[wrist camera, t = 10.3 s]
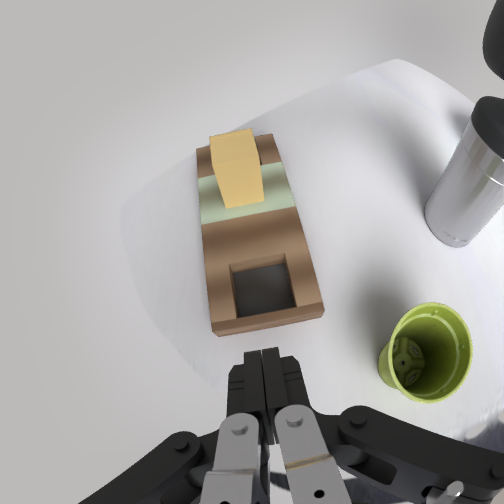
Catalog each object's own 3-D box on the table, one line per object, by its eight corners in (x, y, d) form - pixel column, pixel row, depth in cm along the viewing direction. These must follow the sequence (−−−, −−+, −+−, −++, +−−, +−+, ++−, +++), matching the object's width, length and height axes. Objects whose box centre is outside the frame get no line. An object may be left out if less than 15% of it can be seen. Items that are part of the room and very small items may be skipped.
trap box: (321, 317, 32) (324, 310, 29) (218, 336, 32) (212, 331, 30) (273, 147, 45) (272, 133, 42) (200, 161, 45) (196, 148, 43)
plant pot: (347, 361, 29) (367, 351, 22) (402, 308, 31) (432, 282, 23) (395, 418, 25) (428, 424, 18) (446, 361, 27) (486, 349, 19)
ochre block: (264, 200, 37) (258, 156, 29) (225, 208, 37) (212, 165, 30) (257, 172, 39) (251, 128, 32) (221, 180, 39) (209, 136, 32)
